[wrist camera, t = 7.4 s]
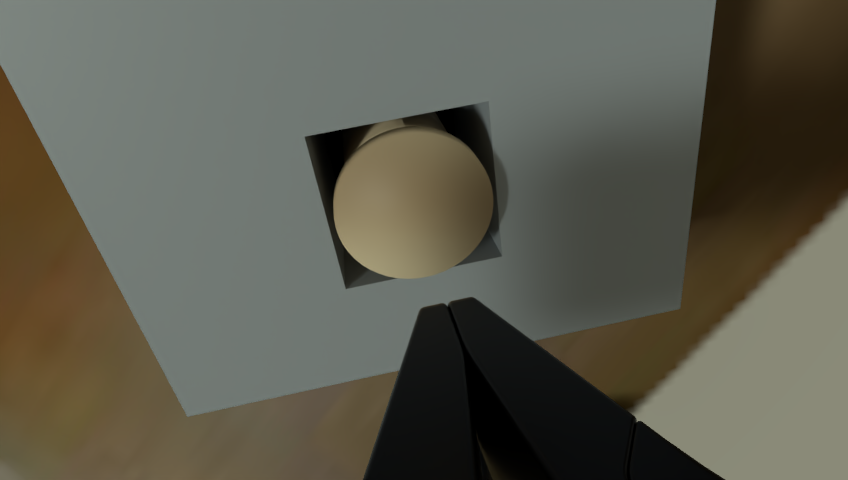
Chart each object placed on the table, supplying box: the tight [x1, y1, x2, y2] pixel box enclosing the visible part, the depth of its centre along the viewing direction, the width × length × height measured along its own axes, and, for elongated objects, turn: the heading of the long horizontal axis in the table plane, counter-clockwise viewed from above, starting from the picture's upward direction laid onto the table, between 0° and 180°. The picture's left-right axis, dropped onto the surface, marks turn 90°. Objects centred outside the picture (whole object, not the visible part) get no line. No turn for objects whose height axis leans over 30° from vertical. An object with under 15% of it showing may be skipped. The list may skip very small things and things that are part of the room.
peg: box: [333, 112, 493, 279], centre depth 15 cm, size 4×4×6 cm
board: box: [0, 0, 716, 417], centre depth 13 cm, size 18×14×5 cm
